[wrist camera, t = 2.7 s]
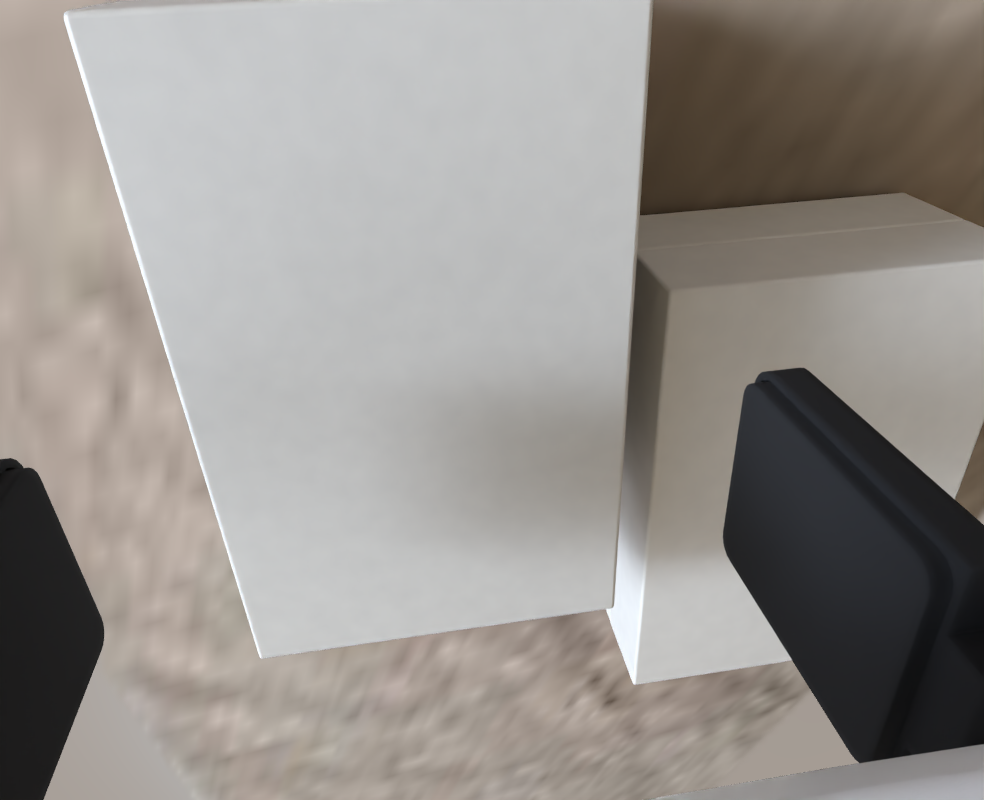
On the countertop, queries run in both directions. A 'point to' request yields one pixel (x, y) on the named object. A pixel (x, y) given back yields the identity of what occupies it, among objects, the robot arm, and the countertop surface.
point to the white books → (767, 347)
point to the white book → (389, 291)
